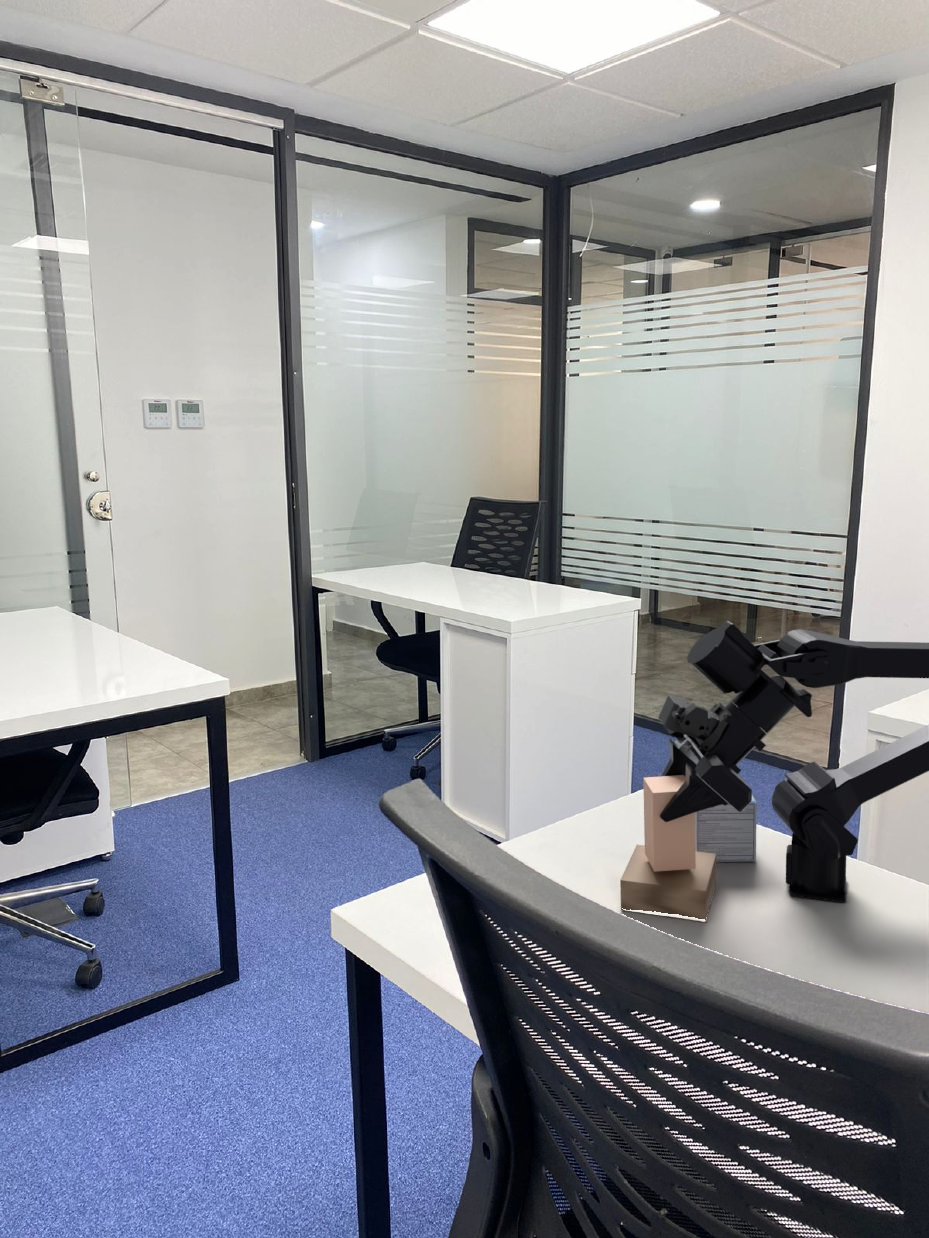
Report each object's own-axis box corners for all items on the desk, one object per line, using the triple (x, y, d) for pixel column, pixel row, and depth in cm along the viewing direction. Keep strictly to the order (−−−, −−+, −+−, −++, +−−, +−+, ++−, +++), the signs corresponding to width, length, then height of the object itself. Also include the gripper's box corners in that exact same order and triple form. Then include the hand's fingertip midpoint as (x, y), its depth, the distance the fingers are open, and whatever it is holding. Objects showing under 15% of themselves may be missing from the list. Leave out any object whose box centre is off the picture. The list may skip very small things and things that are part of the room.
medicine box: (750, 848, 126) (750, 788, 124) (756, 863, 122) (757, 801, 120) (691, 848, 127) (690, 789, 125) (695, 863, 123) (695, 802, 121)
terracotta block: (684, 850, 116) (683, 774, 114) (695, 868, 111) (694, 790, 109) (644, 852, 116) (643, 777, 114) (654, 871, 111) (652, 792, 109)
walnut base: (716, 882, 117) (716, 853, 116) (705, 922, 108) (705, 890, 107) (637, 872, 121) (636, 844, 120) (621, 910, 112) (620, 879, 111)
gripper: (681, 655, 118) (597, 742, 120) (722, 696, 100) (623, 798, 102) (743, 710, 119) (659, 796, 122) (795, 761, 101) (695, 860, 103)
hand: (657, 809), depth 112 cm, fingers open, 5 cm apart
